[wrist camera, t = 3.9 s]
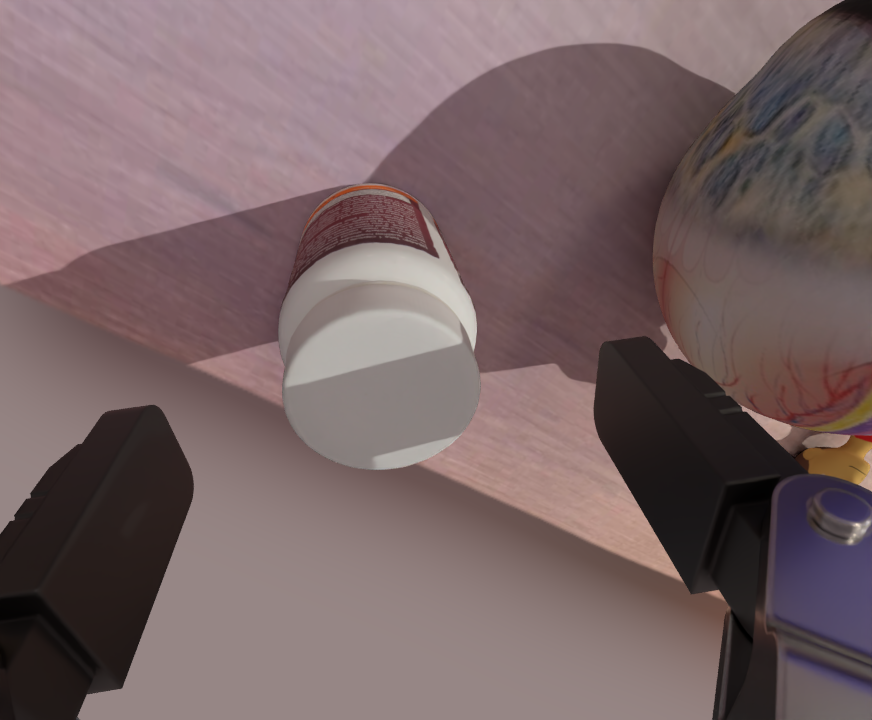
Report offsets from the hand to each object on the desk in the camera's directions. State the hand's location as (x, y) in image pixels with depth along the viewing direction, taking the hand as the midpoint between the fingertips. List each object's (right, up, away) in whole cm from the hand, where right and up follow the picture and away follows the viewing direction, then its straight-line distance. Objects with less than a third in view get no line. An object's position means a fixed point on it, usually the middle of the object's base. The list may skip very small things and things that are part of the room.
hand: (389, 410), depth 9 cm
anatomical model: (+12, +6, +9) cm, 16 cm away
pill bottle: (-1, +5, +8) cm, 9 cm away
